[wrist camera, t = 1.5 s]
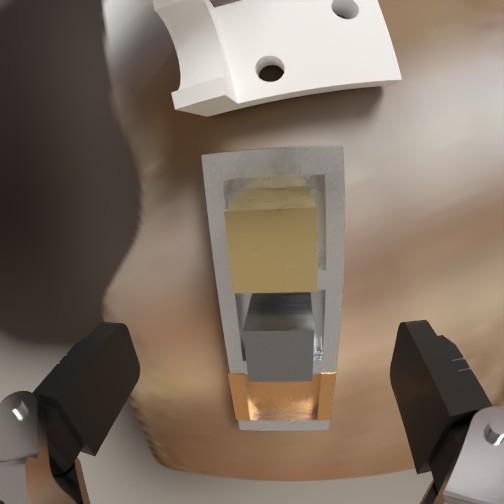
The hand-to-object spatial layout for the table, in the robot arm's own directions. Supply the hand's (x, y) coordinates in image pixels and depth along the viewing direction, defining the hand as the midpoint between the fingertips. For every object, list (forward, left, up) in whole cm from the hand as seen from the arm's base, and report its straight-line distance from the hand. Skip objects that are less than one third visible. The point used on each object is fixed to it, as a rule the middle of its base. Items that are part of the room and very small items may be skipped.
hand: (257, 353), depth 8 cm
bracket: (-12, +2, -16) cm, 20 cm away
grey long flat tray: (+8, 0, -15) cm, 17 cm away
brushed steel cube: (+8, 0, -14) cm, 16 cm away
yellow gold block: (0, 0, -14) cm, 14 cm away
